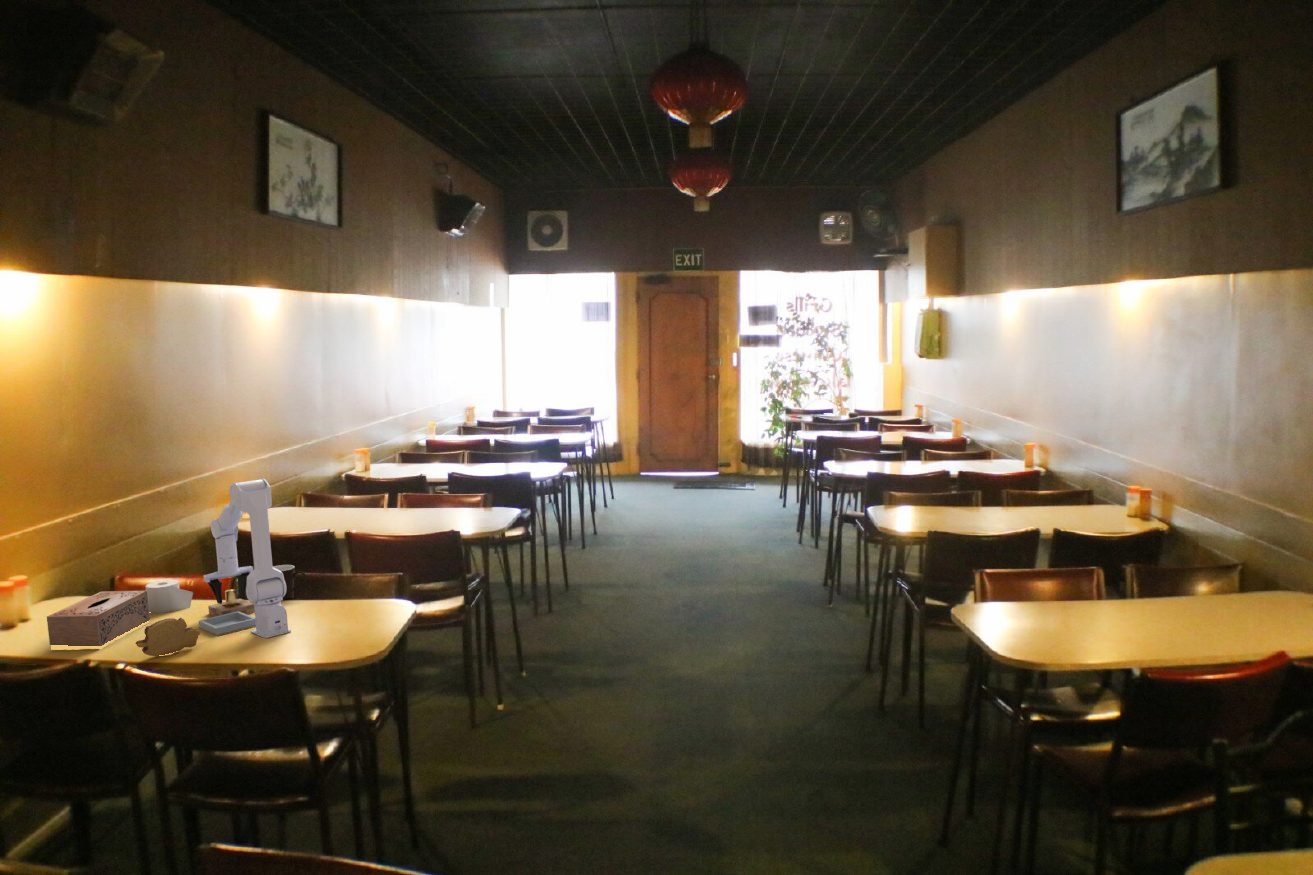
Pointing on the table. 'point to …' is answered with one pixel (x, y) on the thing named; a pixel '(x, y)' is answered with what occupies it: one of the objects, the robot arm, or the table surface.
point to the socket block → (231, 608)
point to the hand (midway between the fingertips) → (231, 600)
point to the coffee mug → (289, 579)
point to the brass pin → (230, 598)
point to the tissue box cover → (98, 618)
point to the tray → (227, 623)
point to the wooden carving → (168, 637)
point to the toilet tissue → (167, 596)
